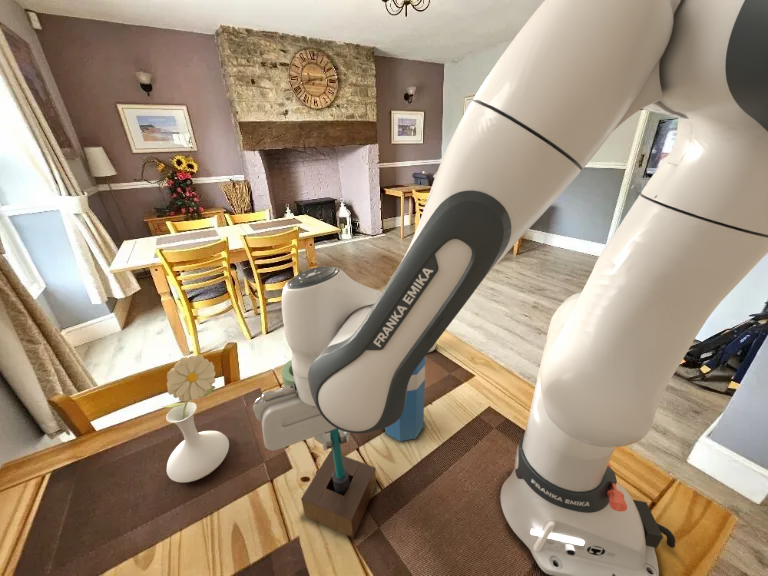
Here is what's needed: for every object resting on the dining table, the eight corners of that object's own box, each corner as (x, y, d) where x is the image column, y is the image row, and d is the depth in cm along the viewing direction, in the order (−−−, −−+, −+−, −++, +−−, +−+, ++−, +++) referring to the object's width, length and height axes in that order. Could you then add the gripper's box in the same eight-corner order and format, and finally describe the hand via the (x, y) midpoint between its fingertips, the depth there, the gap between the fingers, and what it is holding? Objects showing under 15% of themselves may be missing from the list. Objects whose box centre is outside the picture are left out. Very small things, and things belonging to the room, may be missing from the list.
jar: (335, 401, 79) (330, 360, 73) (314, 429, 71) (307, 385, 66) (304, 392, 82) (297, 352, 77) (282, 418, 74) (272, 375, 69)
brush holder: (376, 484, 59) (375, 467, 57) (353, 538, 51) (351, 520, 49) (332, 467, 63) (330, 450, 60) (304, 516, 55) (301, 498, 52)
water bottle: (421, 444, 67) (424, 349, 56) (379, 438, 69) (374, 344, 58) (424, 411, 75) (428, 322, 65) (387, 406, 77) (384, 319, 67)
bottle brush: (354, 492, 57) (344, 416, 49) (346, 507, 55) (336, 430, 47) (340, 487, 58) (329, 411, 50) (333, 501, 56) (320, 425, 48)
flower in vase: (169, 500, 58) (118, 398, 47) (168, 454, 66) (125, 359, 56) (243, 463, 64) (213, 366, 54) (233, 425, 73) (205, 336, 62)
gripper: (250, 414, 39) (271, 486, 44) (398, 368, 46) (399, 435, 51) (249, 383, 44) (267, 450, 50) (381, 346, 51) (385, 409, 57)
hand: (335, 442), depth 51 cm, fingers closed on bottle brush
